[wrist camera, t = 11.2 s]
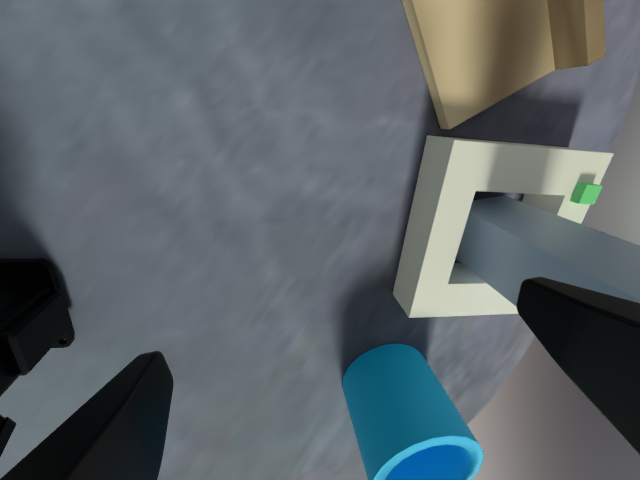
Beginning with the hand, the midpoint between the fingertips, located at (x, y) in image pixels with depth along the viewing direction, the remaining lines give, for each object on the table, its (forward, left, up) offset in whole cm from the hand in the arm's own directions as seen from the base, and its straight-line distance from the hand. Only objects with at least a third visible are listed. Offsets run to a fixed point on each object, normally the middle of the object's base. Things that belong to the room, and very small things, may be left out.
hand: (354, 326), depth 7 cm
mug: (+10, -19, -13) cm, 25 cm away
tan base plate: (+10, +10, -13) cm, 19 cm away
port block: (+13, -2, -13) cm, 19 cm away
